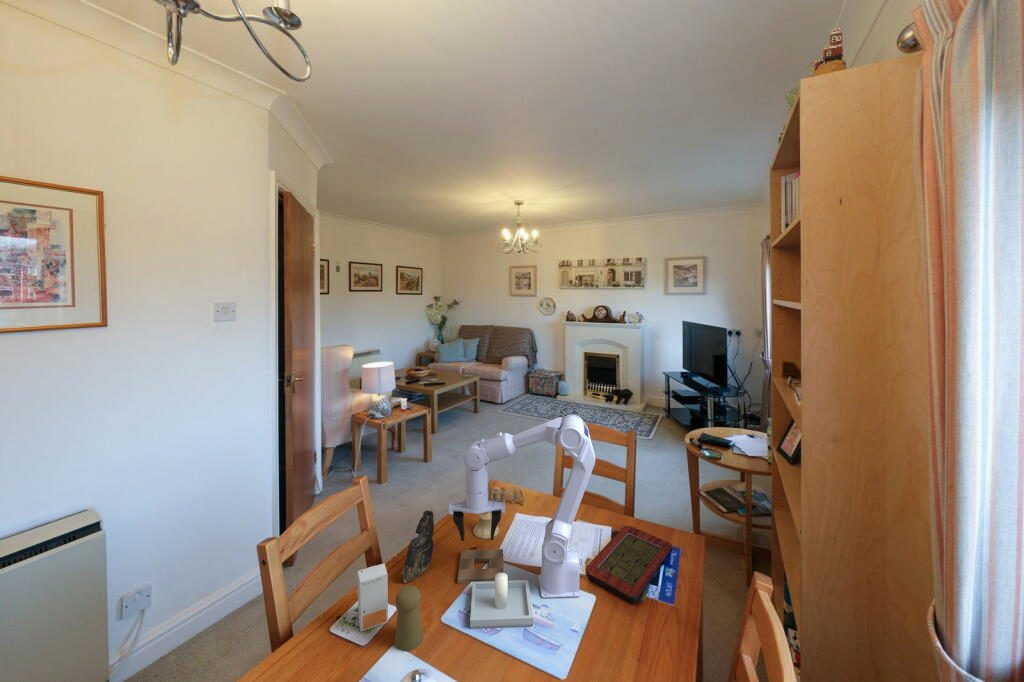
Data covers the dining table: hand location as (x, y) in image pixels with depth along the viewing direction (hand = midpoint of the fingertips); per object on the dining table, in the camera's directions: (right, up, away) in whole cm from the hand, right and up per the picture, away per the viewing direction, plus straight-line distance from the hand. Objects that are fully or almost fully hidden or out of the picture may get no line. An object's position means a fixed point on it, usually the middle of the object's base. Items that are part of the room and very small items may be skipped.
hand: (477, 538), depth 102 cm
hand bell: (+1, -9, +21) cm, 23 cm away
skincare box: (-22, -12, -14) cm, 29 cm away
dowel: (+7, -11, -10) cm, 16 cm away
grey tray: (+7, -11, -10) cm, 16 cm away
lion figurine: (+8, -7, +35) cm, 37 cm away
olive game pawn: (-13, -12, -19) cm, 26 cm away
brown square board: (+1, -10, +4) cm, 11 cm away
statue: (-16, -10, +3) cm, 19 cm away
